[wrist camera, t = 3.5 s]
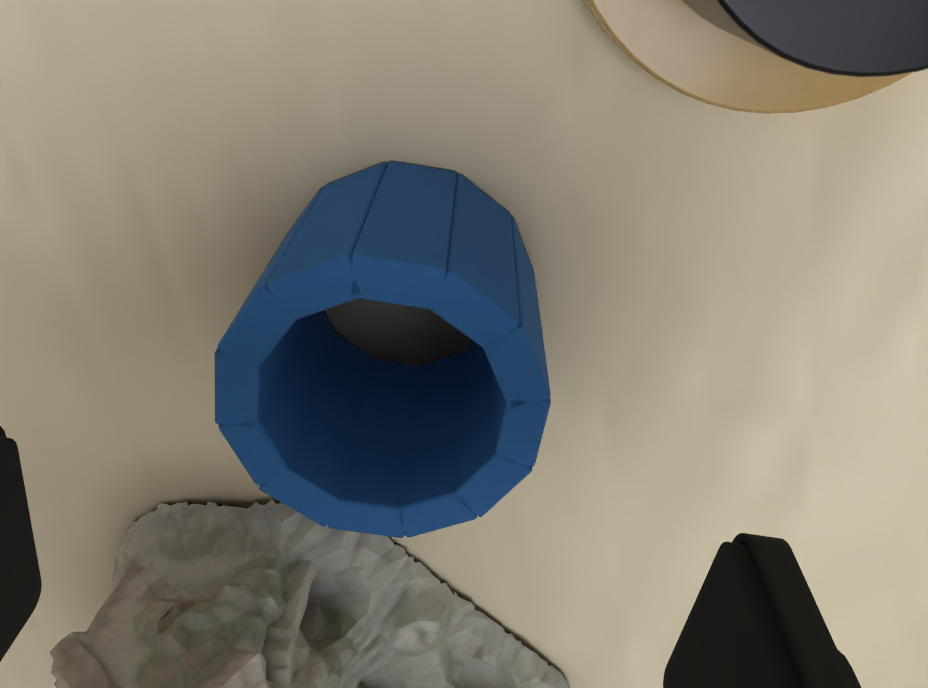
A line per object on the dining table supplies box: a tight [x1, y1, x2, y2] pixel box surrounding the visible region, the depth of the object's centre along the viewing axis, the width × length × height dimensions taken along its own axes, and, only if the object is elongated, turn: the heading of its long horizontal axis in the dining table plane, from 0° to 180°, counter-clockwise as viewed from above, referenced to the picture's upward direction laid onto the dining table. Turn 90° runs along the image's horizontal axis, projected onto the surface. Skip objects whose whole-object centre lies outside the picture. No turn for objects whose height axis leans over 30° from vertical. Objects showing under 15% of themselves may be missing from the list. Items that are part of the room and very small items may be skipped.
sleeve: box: [215, 161, 551, 538], centre depth 16 cm, size 6×6×6 cm
